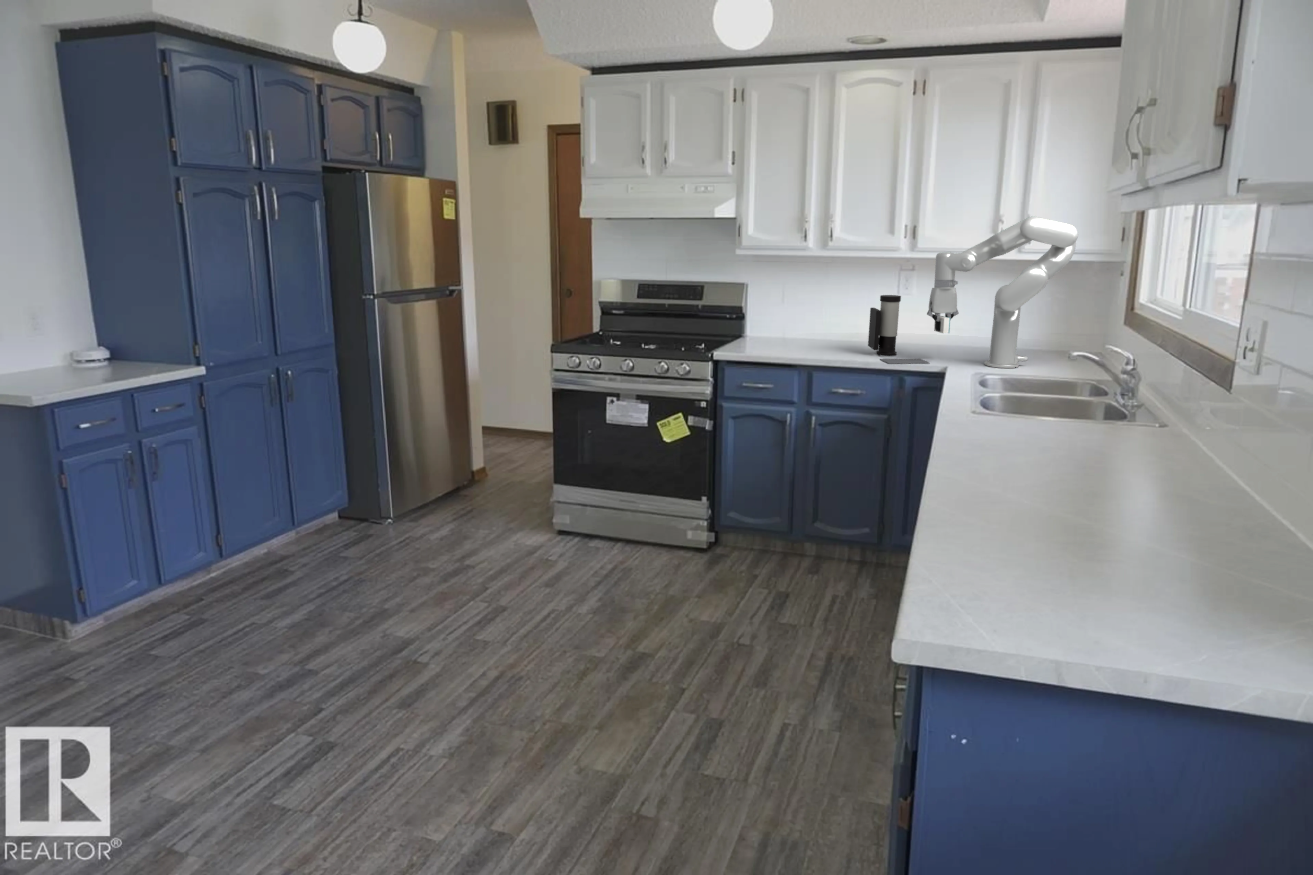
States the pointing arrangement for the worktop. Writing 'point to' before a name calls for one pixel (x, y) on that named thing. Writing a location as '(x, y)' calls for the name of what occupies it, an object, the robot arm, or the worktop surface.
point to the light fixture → (884, 325)
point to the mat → (905, 361)
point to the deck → (944, 325)
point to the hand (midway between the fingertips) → (941, 330)
